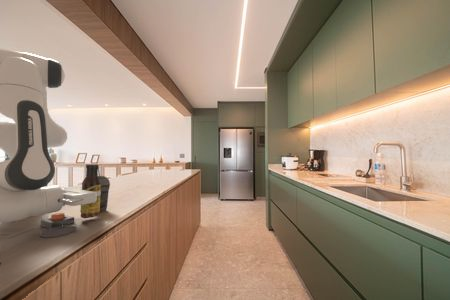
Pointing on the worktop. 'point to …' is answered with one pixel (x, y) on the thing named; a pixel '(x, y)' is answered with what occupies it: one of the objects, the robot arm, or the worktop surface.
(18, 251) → the worktop surface
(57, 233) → the mat
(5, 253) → the worktop surface
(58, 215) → the button
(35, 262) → the worktop surface
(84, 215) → the sauce bottle
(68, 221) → the button housing
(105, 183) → the beverage cup
